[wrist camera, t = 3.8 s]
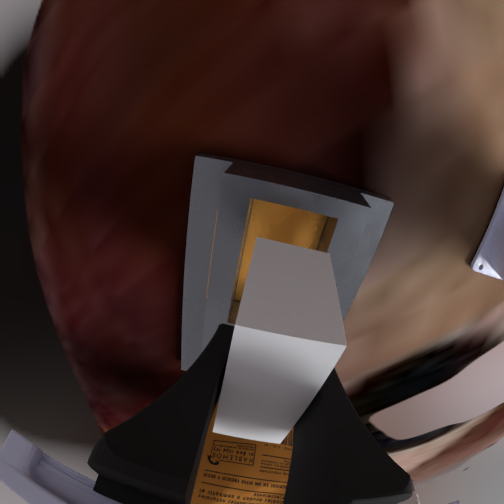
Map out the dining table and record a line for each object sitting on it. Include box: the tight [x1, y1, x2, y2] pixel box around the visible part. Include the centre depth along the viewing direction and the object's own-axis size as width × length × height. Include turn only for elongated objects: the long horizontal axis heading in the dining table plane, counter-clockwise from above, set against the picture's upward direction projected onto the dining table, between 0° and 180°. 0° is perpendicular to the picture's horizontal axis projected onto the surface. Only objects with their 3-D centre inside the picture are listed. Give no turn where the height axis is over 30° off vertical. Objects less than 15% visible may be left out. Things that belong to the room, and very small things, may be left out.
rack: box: [181, 153, 394, 401], centre depth 20 cm, size 12×20×4 cm, turn 170°
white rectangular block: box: [213, 237, 347, 444], centre depth 11 cm, size 3×7×5 cm, turn 169°
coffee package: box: [190, 401, 294, 504], centre depth 21 cm, size 10×12×22 cm
